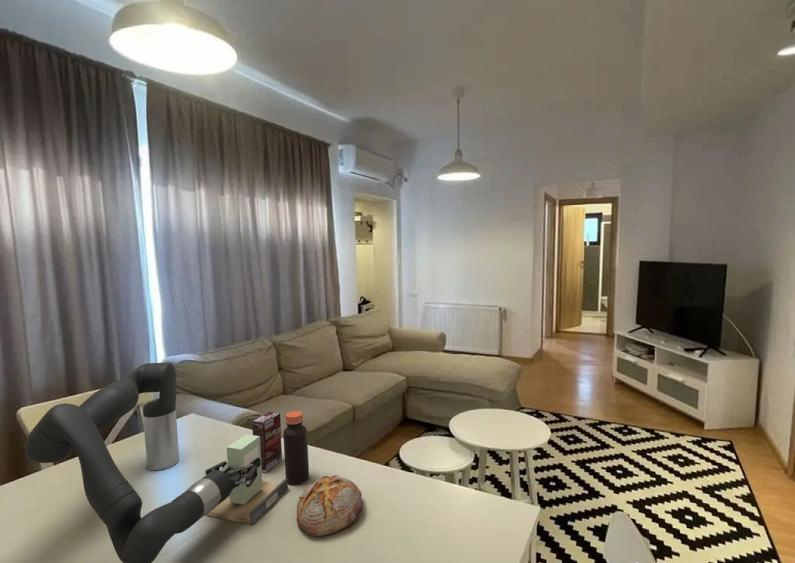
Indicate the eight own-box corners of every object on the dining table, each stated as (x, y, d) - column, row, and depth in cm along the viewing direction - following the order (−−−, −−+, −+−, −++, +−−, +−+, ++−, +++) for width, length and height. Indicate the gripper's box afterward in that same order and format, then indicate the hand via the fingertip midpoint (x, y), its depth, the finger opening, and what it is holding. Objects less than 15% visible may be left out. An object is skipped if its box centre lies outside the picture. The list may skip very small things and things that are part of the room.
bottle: (299, 470, 129) (295, 408, 127) (314, 477, 125) (310, 412, 123) (281, 481, 124) (277, 415, 122) (296, 488, 120) (292, 420, 118)
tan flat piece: (204, 514, 108) (203, 503, 108) (244, 481, 124) (243, 472, 123) (253, 524, 104) (253, 513, 104) (288, 489, 119) (288, 479, 119)
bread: (284, 540, 100) (279, 500, 99) (316, 492, 119) (313, 459, 118) (349, 544, 96) (345, 503, 96) (371, 494, 115) (368, 460, 115)
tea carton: (229, 502, 111) (226, 447, 110) (248, 485, 118) (246, 434, 117) (244, 504, 109) (241, 449, 108) (262, 488, 117) (259, 436, 116)
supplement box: (266, 473, 128) (263, 423, 127) (253, 470, 130) (250, 421, 129) (283, 459, 136) (281, 412, 135) (271, 457, 138) (268, 411, 137)
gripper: (183, 504, 102) (230, 469, 118) (232, 514, 98) (274, 476, 114) (181, 475, 101) (229, 443, 118) (230, 483, 97) (273, 449, 113)
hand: (251, 459), depth 116 cm, fingers closed on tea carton, 4 cm apart
